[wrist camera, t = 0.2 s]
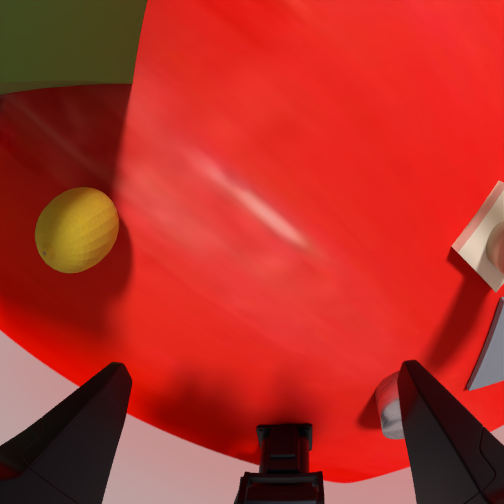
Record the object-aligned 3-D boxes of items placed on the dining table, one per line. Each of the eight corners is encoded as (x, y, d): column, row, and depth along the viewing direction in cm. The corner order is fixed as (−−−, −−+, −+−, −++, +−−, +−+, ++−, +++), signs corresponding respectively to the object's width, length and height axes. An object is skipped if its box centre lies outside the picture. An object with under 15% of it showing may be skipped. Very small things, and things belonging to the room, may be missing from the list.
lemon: (117, 164, 21) (50, 195, 14) (147, 229, 23) (96, 282, 16) (68, 192, 23) (3, 228, 15) (96, 249, 25) (43, 301, 17)
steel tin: (419, 399, 30) (429, 432, 25) (371, 407, 31) (378, 443, 26) (431, 364, 27) (446, 399, 23) (379, 373, 28) (388, 411, 24)
